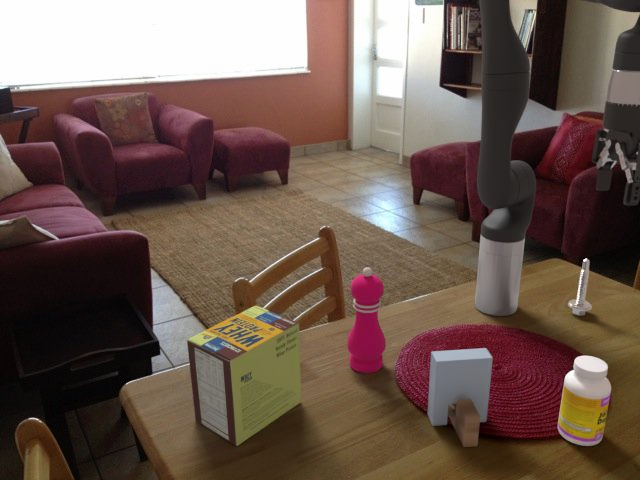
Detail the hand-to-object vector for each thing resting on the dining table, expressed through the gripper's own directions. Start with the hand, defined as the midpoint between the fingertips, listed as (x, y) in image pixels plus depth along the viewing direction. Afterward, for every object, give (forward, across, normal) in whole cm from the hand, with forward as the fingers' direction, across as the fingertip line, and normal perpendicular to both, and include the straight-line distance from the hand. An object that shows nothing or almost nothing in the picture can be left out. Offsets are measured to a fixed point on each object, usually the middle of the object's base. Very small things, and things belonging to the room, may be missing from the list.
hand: (615, 197), depth 102 cm
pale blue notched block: (+33, +12, -29) cm, 46 cm away
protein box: (+33, +6, -63) cm, 72 cm away
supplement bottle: (+33, +18, -11) cm, 39 cm away
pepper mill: (+33, -6, -41) cm, 53 cm away
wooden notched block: (+33, +10, -29) cm, 45 cm away
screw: (+33, -21, +9) cm, 40 cm away
